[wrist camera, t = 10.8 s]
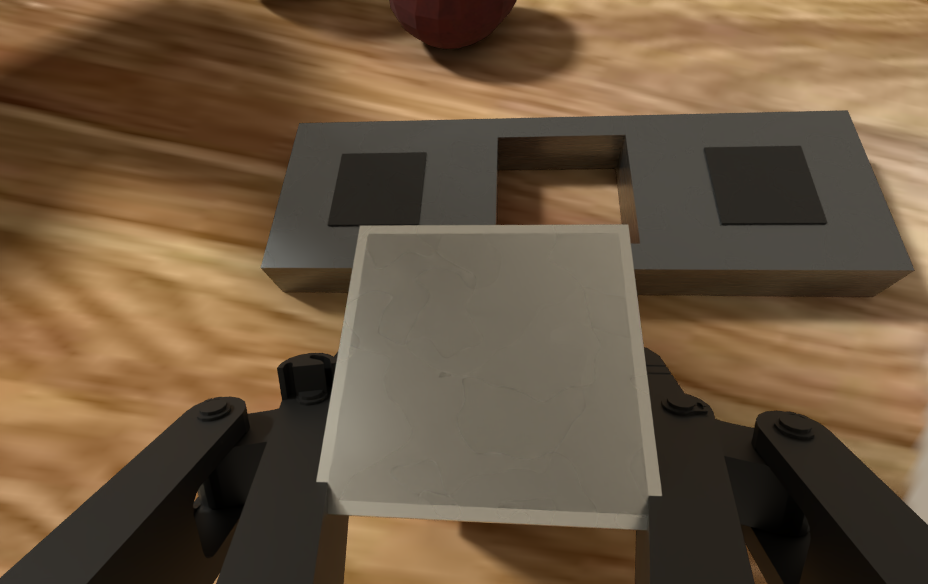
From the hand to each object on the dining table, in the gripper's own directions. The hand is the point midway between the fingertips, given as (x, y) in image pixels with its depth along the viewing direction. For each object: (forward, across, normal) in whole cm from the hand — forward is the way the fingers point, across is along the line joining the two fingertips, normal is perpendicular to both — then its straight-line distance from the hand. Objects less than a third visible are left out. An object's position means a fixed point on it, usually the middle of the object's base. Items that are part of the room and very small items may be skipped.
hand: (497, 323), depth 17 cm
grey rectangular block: (0, 0, -6) cm, 6 cm away
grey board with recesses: (+10, +3, +2) cm, 10 cm away
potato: (+20, -3, +12) cm, 24 cm away
